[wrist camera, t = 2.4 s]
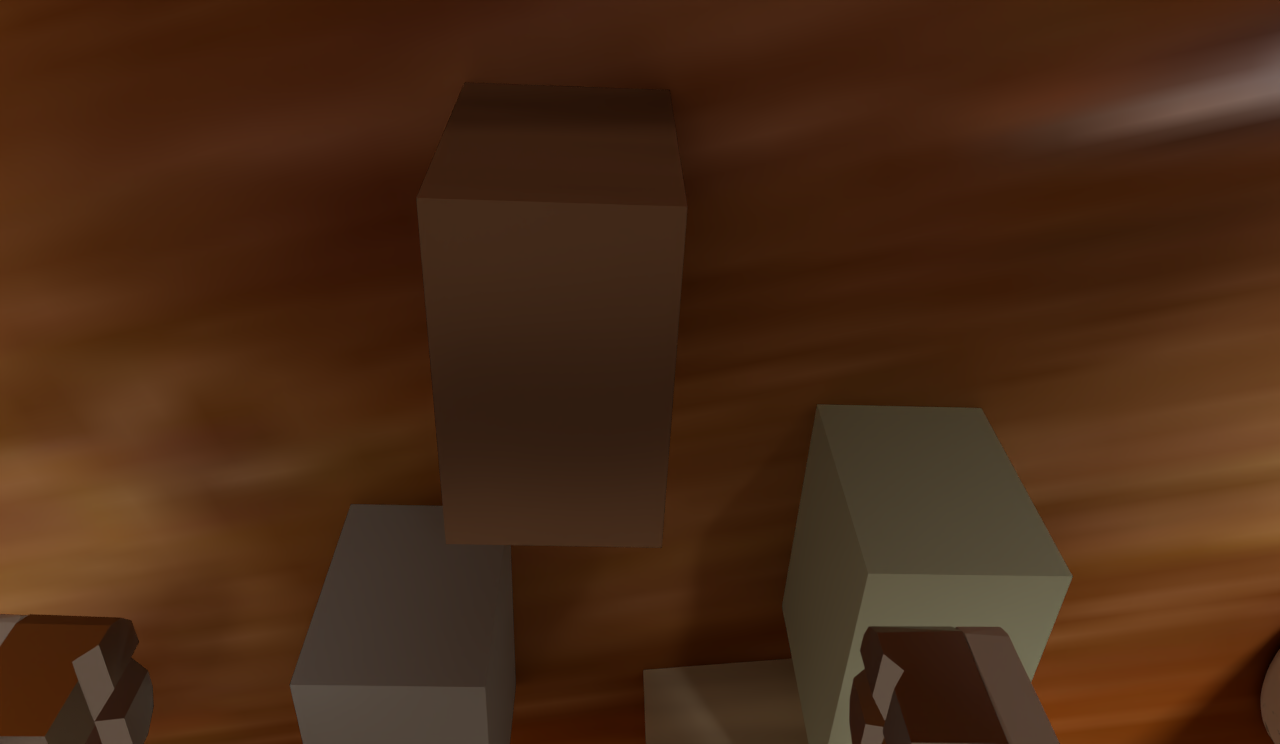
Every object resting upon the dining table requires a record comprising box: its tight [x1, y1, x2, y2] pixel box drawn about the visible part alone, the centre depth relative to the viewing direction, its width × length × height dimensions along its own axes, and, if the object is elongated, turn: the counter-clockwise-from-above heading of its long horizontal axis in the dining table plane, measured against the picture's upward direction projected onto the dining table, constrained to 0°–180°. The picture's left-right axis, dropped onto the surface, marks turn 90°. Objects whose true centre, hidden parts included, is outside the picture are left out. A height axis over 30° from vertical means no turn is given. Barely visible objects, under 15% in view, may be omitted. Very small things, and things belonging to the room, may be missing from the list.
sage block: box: [782, 404, 1073, 744], centre depth 20 cm, size 6×4×5 cm, turn 178°
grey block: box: [290, 504, 516, 744], centre depth 22 cm, size 6×4×5 cm, turn 177°
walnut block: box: [416, 83, 688, 548], centre depth 16 cm, size 6×4×5 cm, turn 178°
